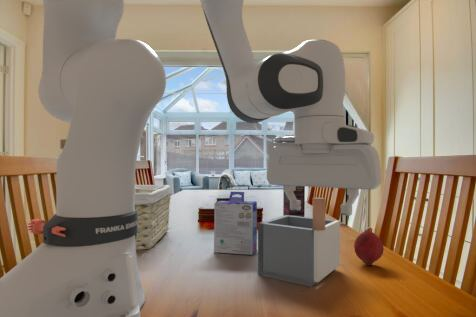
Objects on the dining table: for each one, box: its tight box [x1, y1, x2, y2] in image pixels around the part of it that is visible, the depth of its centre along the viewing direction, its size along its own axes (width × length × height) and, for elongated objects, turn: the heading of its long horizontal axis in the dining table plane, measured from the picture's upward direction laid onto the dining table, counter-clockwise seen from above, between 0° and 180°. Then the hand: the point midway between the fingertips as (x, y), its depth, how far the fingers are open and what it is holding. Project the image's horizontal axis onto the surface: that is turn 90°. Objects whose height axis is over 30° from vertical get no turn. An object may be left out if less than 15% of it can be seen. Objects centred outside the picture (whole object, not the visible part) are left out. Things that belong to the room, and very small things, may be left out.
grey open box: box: [257, 215, 335, 288], centre depth 66 cm, size 12×11×10 cm
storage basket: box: [135, 184, 172, 251], centre depth 92 cm, size 24×16×15 cm
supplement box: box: [282, 186, 306, 217], centre depth 98 cm, size 9×5×16 cm, turn 4°
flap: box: [312, 197, 341, 283], centre depth 63 cm, size 12×2×14 cm, turn 145°
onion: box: [353, 227, 385, 266], centre depth 71 cm, size 6×6×8 cm
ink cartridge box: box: [213, 191, 258, 256], centre depth 81 cm, size 10×6×14 cm, turn 77°
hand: (319, 212), depth 59 cm, fingers open, 8 cm apart
